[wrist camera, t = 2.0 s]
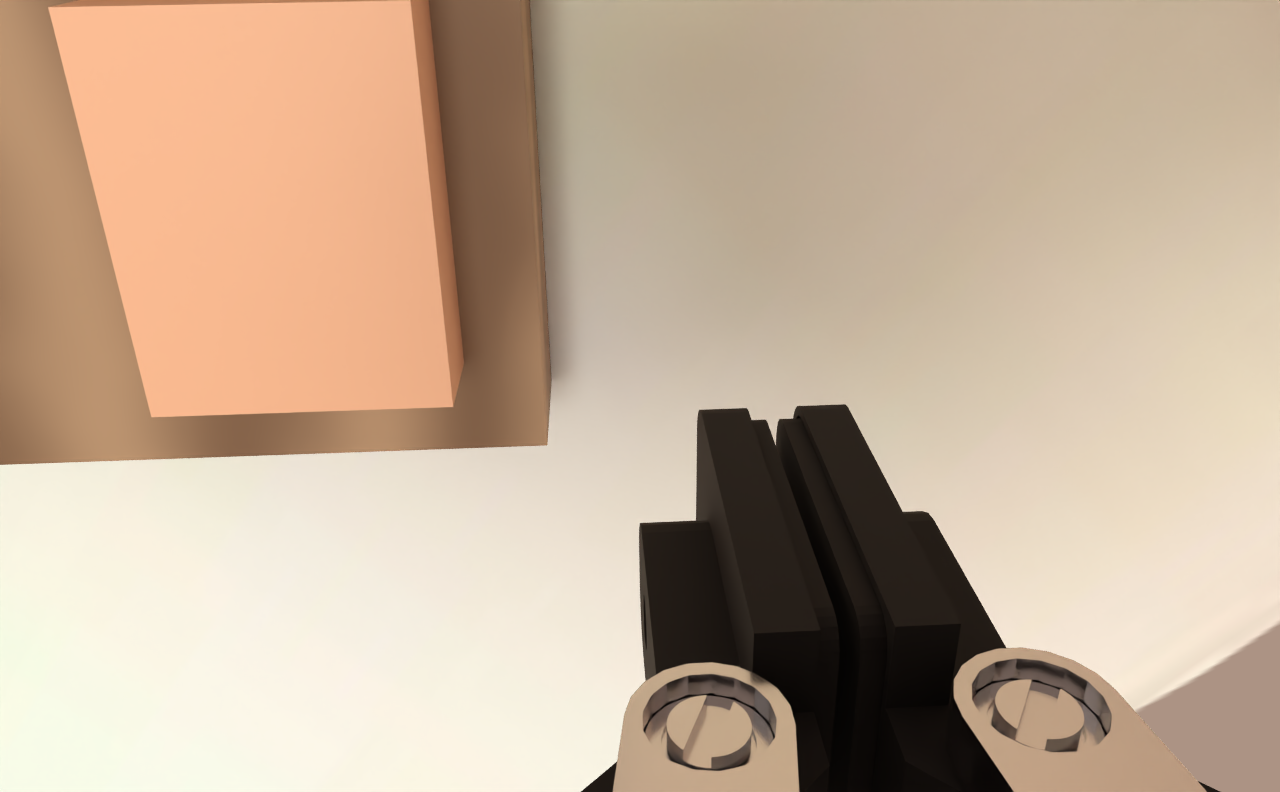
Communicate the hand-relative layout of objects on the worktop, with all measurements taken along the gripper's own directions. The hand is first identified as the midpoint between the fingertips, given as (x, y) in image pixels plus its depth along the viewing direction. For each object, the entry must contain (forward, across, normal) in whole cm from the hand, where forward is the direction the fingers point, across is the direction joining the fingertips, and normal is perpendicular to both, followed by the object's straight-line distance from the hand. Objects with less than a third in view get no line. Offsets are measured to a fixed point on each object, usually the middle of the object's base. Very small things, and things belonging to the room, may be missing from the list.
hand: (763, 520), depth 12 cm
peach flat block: (+14, +9, 0) cm, 17 cm away
